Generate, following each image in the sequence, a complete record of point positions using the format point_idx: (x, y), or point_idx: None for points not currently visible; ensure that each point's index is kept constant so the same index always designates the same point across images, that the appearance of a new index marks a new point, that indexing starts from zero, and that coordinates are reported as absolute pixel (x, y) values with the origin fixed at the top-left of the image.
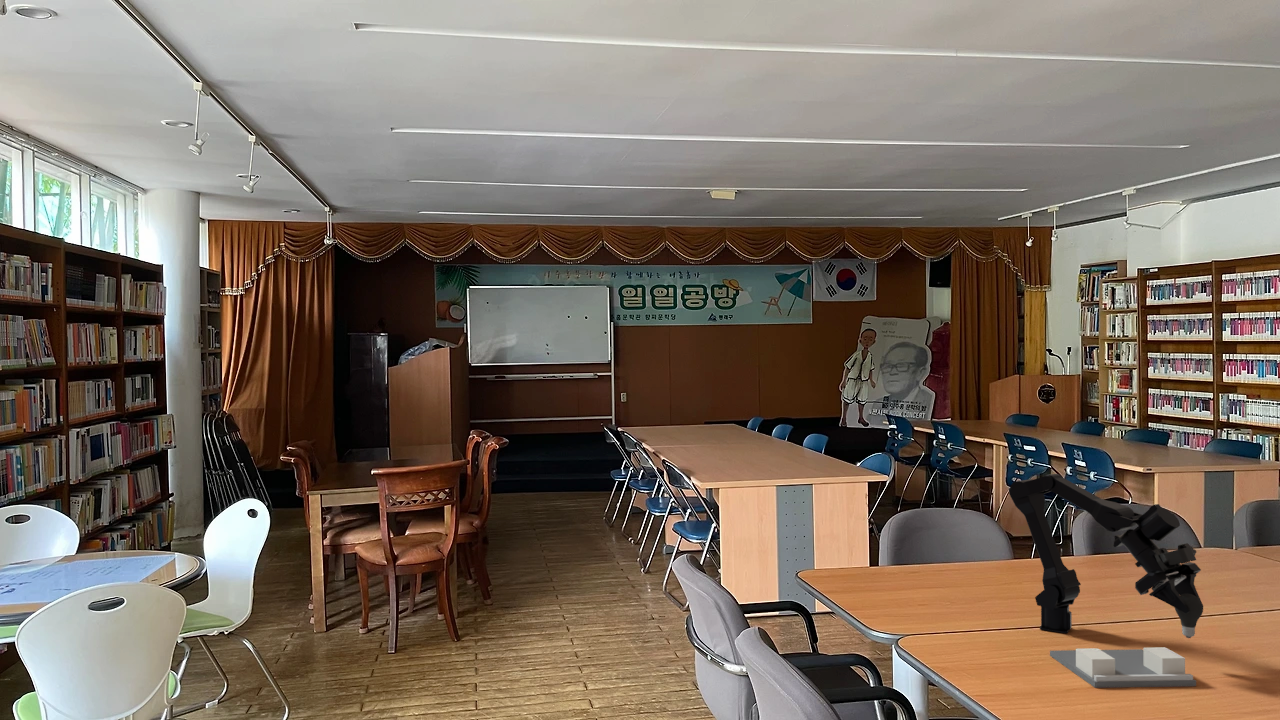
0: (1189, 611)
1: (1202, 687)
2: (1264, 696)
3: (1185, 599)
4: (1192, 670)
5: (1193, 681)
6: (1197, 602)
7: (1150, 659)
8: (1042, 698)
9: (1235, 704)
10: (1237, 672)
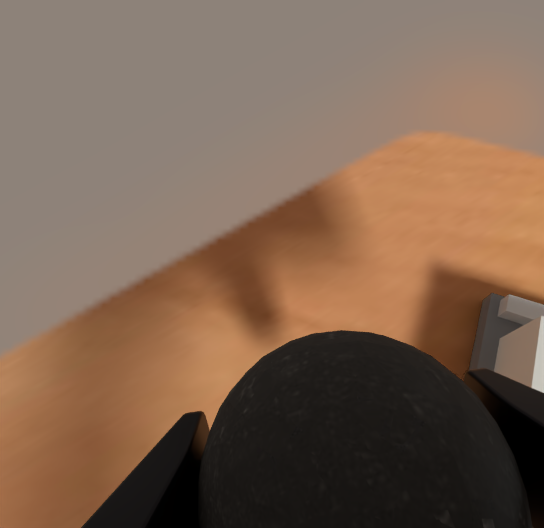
0: (468, 372)
1: (468, 285)
2: (344, 179)
3: (496, 451)
4: None
5: (501, 297)
6: (364, 341)
7: None
8: None
9: (482, 169)
10: (213, 331)
